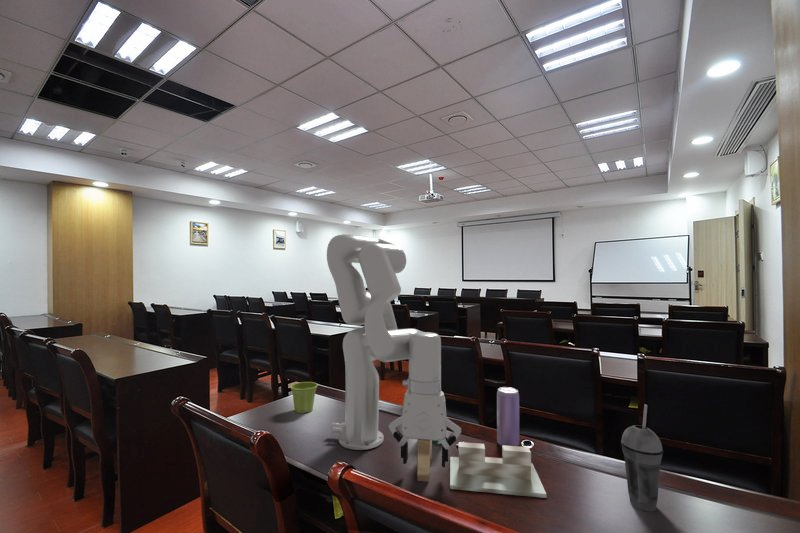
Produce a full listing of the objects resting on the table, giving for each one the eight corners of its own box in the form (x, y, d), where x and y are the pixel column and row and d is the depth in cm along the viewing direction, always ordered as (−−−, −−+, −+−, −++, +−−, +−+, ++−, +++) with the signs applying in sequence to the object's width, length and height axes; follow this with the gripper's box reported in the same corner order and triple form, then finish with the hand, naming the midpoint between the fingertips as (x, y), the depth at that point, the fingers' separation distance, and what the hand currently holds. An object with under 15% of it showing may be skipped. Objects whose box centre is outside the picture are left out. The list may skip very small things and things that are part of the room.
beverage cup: (613, 494, 76) (611, 399, 77) (645, 493, 76) (643, 398, 77) (639, 516, 68) (637, 411, 70) (674, 515, 69) (671, 410, 70)
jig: (450, 488, 77) (450, 456, 77) (450, 459, 90) (450, 432, 90) (546, 497, 74) (546, 464, 75) (532, 466, 87) (532, 438, 87)
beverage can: (520, 450, 96) (520, 393, 97) (497, 447, 97) (497, 392, 98) (517, 440, 102) (517, 387, 103) (496, 438, 103) (496, 386, 104)
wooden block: (428, 481, 80) (429, 440, 80) (417, 480, 80) (417, 439, 81) (431, 456, 92) (432, 421, 92) (421, 455, 92) (422, 420, 92)
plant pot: (284, 414, 120) (285, 388, 120) (296, 405, 129) (297, 381, 130) (311, 416, 119) (311, 389, 119) (321, 406, 128) (321, 382, 128)
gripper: (385, 388, 81) (384, 467, 80) (462, 392, 78) (463, 474, 77) (390, 380, 88) (390, 452, 87) (462, 383, 85) (462, 458, 84)
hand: (424, 462), depth 82 cm, fingers open, 8 cm apart
